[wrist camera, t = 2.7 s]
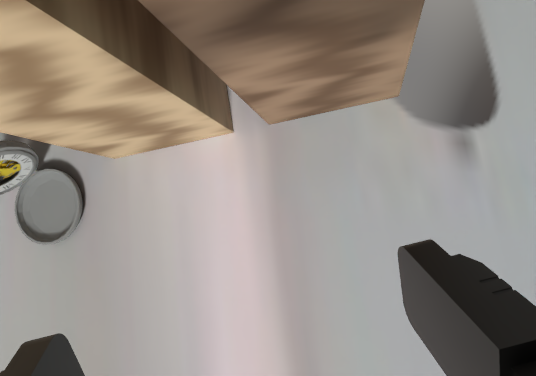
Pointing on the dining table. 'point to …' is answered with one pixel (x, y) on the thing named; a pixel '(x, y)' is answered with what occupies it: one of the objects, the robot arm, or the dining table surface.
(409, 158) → the dining table surface
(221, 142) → the dining table surface
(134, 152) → the oak block
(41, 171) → the pocket watch
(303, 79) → the walnut stand
